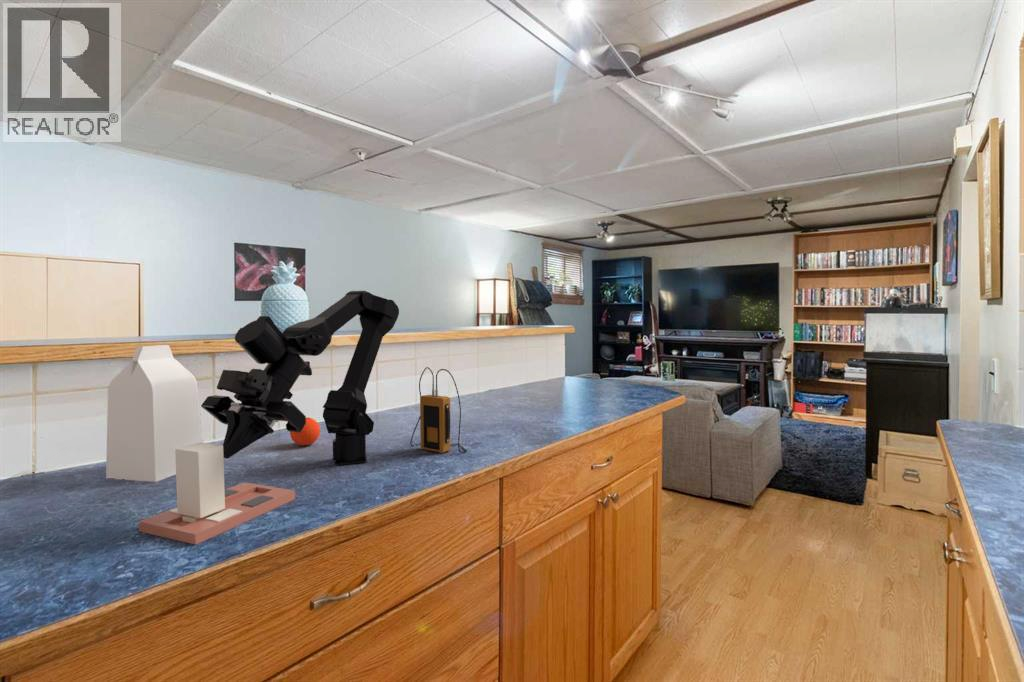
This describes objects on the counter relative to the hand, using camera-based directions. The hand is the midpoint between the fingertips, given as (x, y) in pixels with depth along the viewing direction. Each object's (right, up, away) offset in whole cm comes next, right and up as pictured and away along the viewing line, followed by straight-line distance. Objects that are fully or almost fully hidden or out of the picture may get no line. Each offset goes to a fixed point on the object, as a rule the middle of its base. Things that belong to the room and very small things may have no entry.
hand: (223, 457), depth 77 cm
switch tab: (-1, -9, -3) cm, 10 cm away
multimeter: (+30, -8, +40) cm, 51 cm away
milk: (-27, -8, +22) cm, 36 cm away
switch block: (0, -9, 0) cm, 9 cm away
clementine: (-5, -7, +42) cm, 43 cm away
